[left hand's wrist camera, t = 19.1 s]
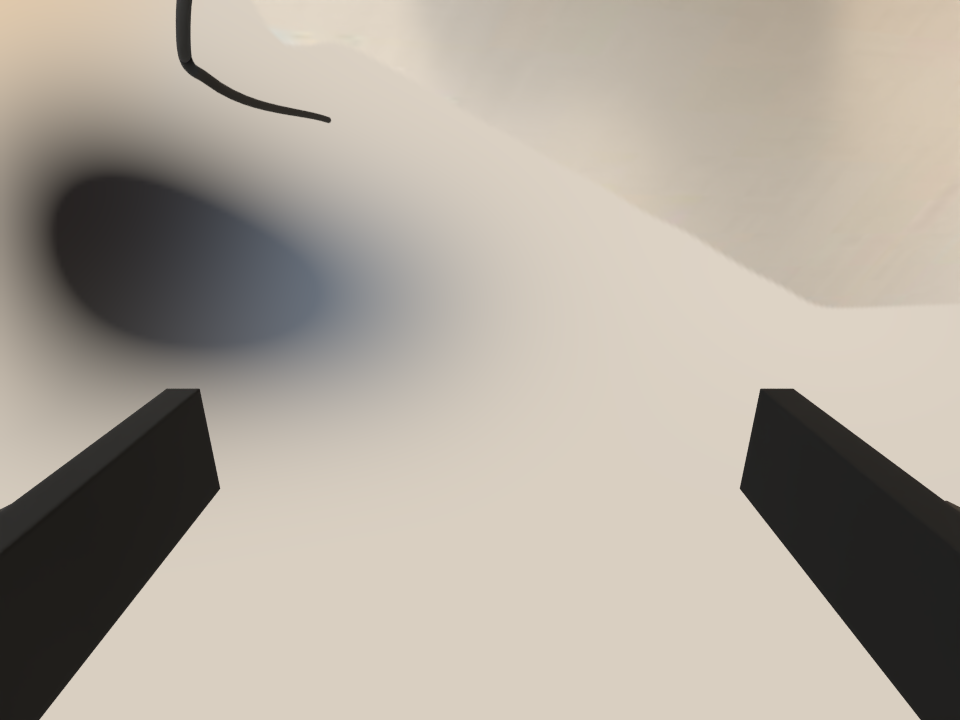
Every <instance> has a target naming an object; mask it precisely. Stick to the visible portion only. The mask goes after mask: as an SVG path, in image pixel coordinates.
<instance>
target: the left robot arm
mask: <svg viewBox="0 0 960 720" xmlns="http://www.w3.org/2000/svg"><path fill="white" fill-rule="evenodd" d="M191 5H192V0H177V4H176V42H177V51H178V56H179V60H180V63H181V65H182V67H183V68H184V69H185V71H186V72H187V73H189V74H190V75H191V76H192V77H194V78H196V79H198V80H199V81H201V82H203V83H204V84H206V85H207V86H209V87H210V88H212V89H213V90H215V91H216V92H218V93H220V94H221V95H223V96H225V97H227V98H229V99H231V100H234V101H236V102H239V103H241V104H244V105H247V106H250V107H253V108H257V109H261V110H265V111H269V112H274V113H279V114H285V115H291V116H297V117H303V118H309V119H314V120H319V121H322V122H326V123H330V122H331V118H330V117H327V116H324V115H321V114H317V113H313V112H308V111H303V110H299V109H294V108H289V107H284V106H280V105H275V104H271V103H268V102H264V101H261V100H257V99H255V98H252V97H249V96H246V95H244V94H242V93H240V92H238V91H235V90H233V89H232V88H230V87H228V86H226V85H225V84H223V83H221V82H220V81H219V80H217V79H216V78H214V77H213V76H212V75H210V74H209V73H208V72H206V71H205V70H203V69H202V68H200V67H198V66H197V65H195V63H194V62H193V59H192V56H191V42H190V24H191ZM219 489H220V486H219V481H218V476H217V471H216V466H215V461H214V456H213V452H212V447H211V442H210V437H209V432H208V427H207V422H206V418H205V413H204V408H203V403H202V398H201V394H200V389H166V390H164V391H163V392H162V393H160V394H159V395H158V396H156V397H155V398H154V399H152V400H151V401H150V402H148V403H147V404H146V405H144V406H143V407H142V408H140V409H139V410H138V411H136V412H135V413H134V414H132V415H131V416H129V417H128V418H127V419H125V420H124V421H123V422H121V423H120V424H119V425H117V426H116V427H115V428H113V429H112V430H111V431H109V432H108V433H107V434H105V435H104V436H102V437H101V438H100V439H98V440H97V441H96V442H94V443H93V444H92V445H90V446H89V447H88V448H86V449H85V450H84V451H82V452H81V453H80V454H78V455H77V456H75V457H74V458H73V459H71V460H70V461H69V462H67V463H66V464H65V465H63V466H62V467H61V468H59V469H58V470H57V471H55V472H54V473H53V474H51V475H50V476H48V477H47V478H46V479H44V480H43V481H42V482H40V483H39V484H38V485H36V486H35V487H34V488H32V489H31V490H30V491H28V492H27V493H26V494H24V495H23V496H22V497H20V498H19V499H17V500H16V501H15V502H13V503H12V504H10V505H8V506H6V507H4V508H2V509H0V720H39V719H40V718H41V717H42V716H43V714H44V713H45V712H46V710H47V709H48V708H49V707H50V705H51V704H52V703H53V702H54V700H55V699H56V698H57V696H58V695H59V694H60V693H61V691H62V690H63V689H64V687H65V686H66V685H67V684H68V682H69V681H70V680H71V678H72V677H73V676H74V675H75V673H76V672H77V671H78V670H79V668H80V667H81V666H82V664H83V663H84V662H85V661H86V659H87V658H88V657H89V656H90V654H91V653H92V652H93V650H94V649H95V648H96V647H97V645H98V644H99V643H100V641H101V640H102V639H103V638H104V636H105V635H106V634H107V633H108V631H109V630H110V629H111V627H112V626H113V625H114V624H115V622H116V621H117V620H118V618H119V617H120V616H121V615H122V613H123V612H124V611H125V610H126V608H127V607H128V606H129V604H130V603H131V602H132V600H133V599H134V598H135V597H136V595H137V594H138V593H139V592H140V590H141V589H142V588H143V587H144V585H145V584H146V583H147V581H148V580H149V579H150V578H151V576H152V575H153V574H154V572H155V571H156V570H157V569H158V567H159V566H160V565H161V564H162V562H163V561H164V560H165V558H166V557H167V556H168V555H169V553H170V552H171V551H172V549H173V548H174V547H175V546H176V544H177V543H178V542H179V541H180V539H181V538H182V537H183V535H184V534H185V533H186V532H187V530H188V529H189V528H190V526H191V525H192V524H193V523H194V521H195V520H196V519H197V517H198V516H199V515H200V514H201V512H202V511H203V510H204V509H205V507H206V506H207V505H208V503H209V502H210V501H211V500H212V498H213V497H214V496H215V495H216V493H217V492H218V491H219ZM740 489H741V491H742V492H743V493H744V494H745V496H746V497H747V498H748V500H749V501H750V502H751V503H752V505H753V506H754V507H755V509H756V510H757V511H758V512H759V514H760V515H761V516H762V518H763V519H764V520H765V521H766V523H767V524H768V525H769V526H770V528H771V529H772V530H773V532H774V533H775V534H776V535H777V537H778V538H779V539H780V541H781V542H782V543H783V544H784V546H785V547H786V548H787V549H788V551H789V552H790V553H791V555H792V556H793V557H794V558H795V560H796V561H797V562H798V564H799V565H800V566H801V567H802V569H803V570H804V571H805V572H806V574H807V575H808V576H809V578H810V579H811V580H812V581H813V583H814V584H815V585H816V587H817V588H818V589H819V590H820V592H821V593H822V594H823V595H824V597H825V598H826V599H827V601H828V602H829V603H830V604H831V606H832V607H833V608H834V610H835V611H836V612H837V613H838V615H839V616H840V617H841V618H842V620H843V621H844V622H845V624H846V625H847V626H848V627H849V629H850V630H851V631H852V633H853V634H854V635H855V636H856V638H857V639H858V640H859V641H860V643H861V644H862V645H863V647H864V648H865V649H866V650H867V652H868V653H869V654H870V655H871V657H872V658H873V659H874V661H875V662H876V663H877V664H878V666H879V667H880V668H881V670H882V671H883V672H884V673H885V675H886V676H887V677H888V679H889V680H890V681H891V682H892V684H893V685H894V686H895V687H896V689H897V690H898V691H899V693H900V694H901V695H902V696H903V698H904V699H905V700H906V702H907V703H908V704H909V705H910V707H911V708H912V709H913V710H914V712H915V713H916V714H917V716H918V717H919V718H920V719H921V720H960V507H958V506H956V505H954V504H952V503H950V502H948V501H944V500H942V499H941V498H940V497H938V496H937V495H936V494H934V493H933V492H932V491H930V490H929V489H928V488H926V487H925V486H924V485H922V484H921V483H920V482H918V481H917V480H916V479H914V478H913V477H911V476H910V475H909V474H907V473H906V472H905V471H903V470H902V469H901V468H899V467H898V466H897V465H895V464H894V463H893V462H891V461H890V460H889V459H887V458H886V457H885V456H883V455H882V454H880V453H879V452H878V451H876V450H875V449H874V448H872V447H871V446H870V445H868V444H867V443H866V442H864V441H863V440H862V439H860V438H859V437H858V436H856V435H855V434H853V433H852V432H851V431H849V430H848V429H847V428H845V427H844V426H843V425H841V424H840V423H839V422H837V421H836V420H835V419H833V418H832V417H831V416H829V415H828V414H827V413H825V412H824V411H822V410H821V409H820V408H818V407H817V406H816V405H814V404H813V403H812V402H810V401H809V400H808V399H806V398H805V397H804V396H802V395H801V394H799V393H798V392H797V391H796V390H794V389H760V393H759V398H758V403H757V408H756V413H755V418H754V422H753V427H752V432H751V437H750V442H749V447H748V452H747V457H746V461H745V466H744V471H743V476H742V481H741V486H740Z"/></svg>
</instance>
